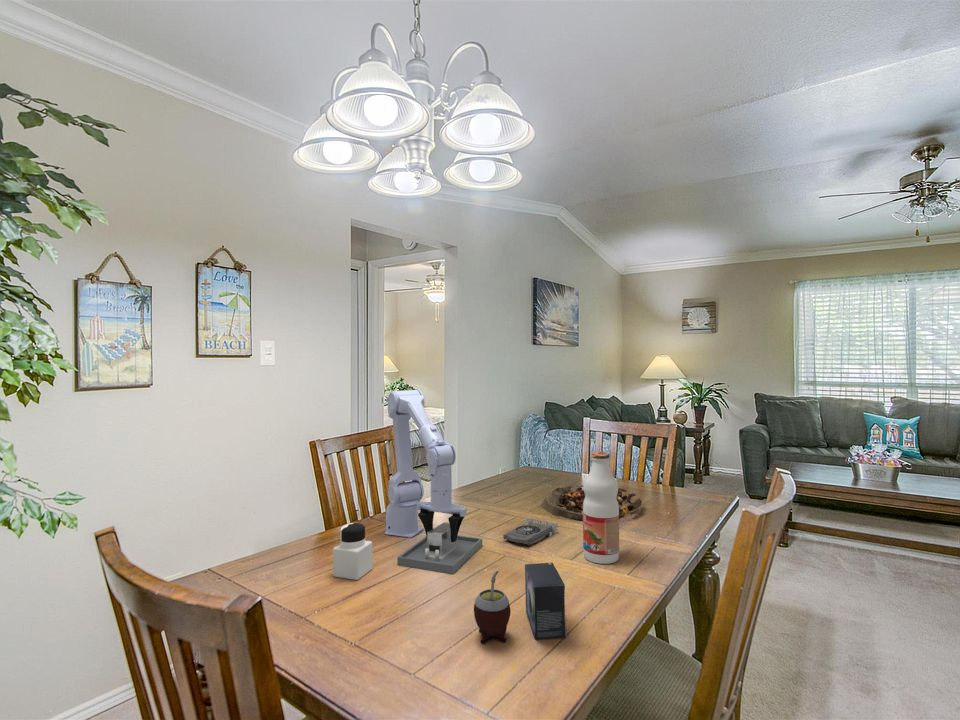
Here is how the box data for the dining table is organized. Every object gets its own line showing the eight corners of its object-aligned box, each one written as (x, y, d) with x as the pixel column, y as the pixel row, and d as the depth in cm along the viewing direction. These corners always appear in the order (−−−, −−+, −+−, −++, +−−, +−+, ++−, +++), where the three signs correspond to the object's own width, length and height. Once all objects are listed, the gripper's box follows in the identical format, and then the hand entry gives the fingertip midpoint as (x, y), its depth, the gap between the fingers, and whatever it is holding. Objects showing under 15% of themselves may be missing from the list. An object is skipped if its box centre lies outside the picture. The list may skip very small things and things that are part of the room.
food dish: (651, 506, 183) (652, 485, 182) (625, 536, 155) (626, 511, 154) (562, 490, 201) (562, 471, 201) (524, 514, 173) (524, 491, 173)
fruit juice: (623, 564, 129) (622, 456, 129) (587, 565, 129) (586, 456, 129) (614, 550, 138) (613, 449, 138) (580, 550, 138) (579, 450, 138)
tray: (397, 564, 130) (397, 551, 130) (432, 538, 149) (432, 526, 149) (453, 574, 124) (453, 560, 124) (482, 545, 143) (482, 533, 143)
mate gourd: (489, 622, 101) (488, 549, 101) (521, 636, 96) (520, 558, 96) (465, 639, 95) (464, 560, 95) (497, 654, 90) (497, 571, 90)
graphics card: (525, 515, 160) (558, 522, 153) (526, 527, 160) (558, 534, 153) (493, 530, 147) (527, 538, 140) (494, 543, 147) (528, 552, 140)
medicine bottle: (373, 568, 128) (372, 522, 128) (357, 580, 121) (357, 531, 121) (349, 565, 130) (348, 519, 130) (332, 576, 123) (332, 528, 123)
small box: (523, 612, 105) (523, 562, 105) (554, 610, 106) (553, 561, 106) (533, 640, 95) (532, 585, 95) (567, 638, 95) (566, 583, 95)
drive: (427, 554, 134) (427, 532, 134) (443, 543, 142) (443, 521, 142) (441, 557, 132) (441, 534, 132) (457, 545, 140) (457, 523, 140)
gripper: (471, 488, 137) (471, 538, 137) (426, 483, 143) (426, 530, 143) (459, 495, 130) (459, 546, 131) (412, 489, 137) (413, 538, 137)
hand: (441, 539), depth 136 cm, fingers open, 7 cm apart
